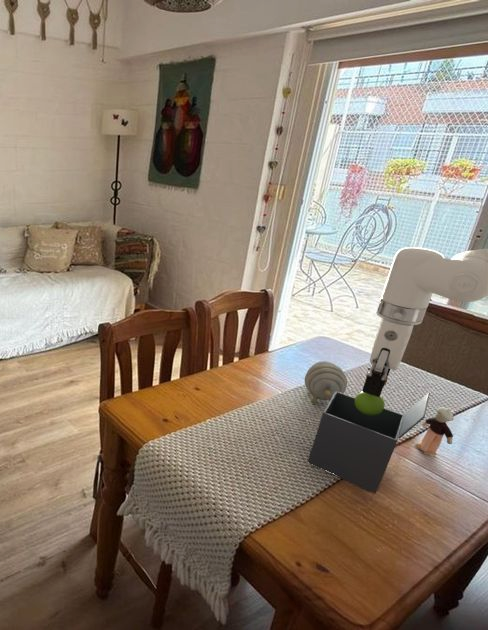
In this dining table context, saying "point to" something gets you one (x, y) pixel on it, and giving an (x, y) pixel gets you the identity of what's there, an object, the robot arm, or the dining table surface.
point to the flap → (414, 415)
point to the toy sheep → (325, 380)
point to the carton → (355, 442)
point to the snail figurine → (369, 402)
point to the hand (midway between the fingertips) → (373, 387)
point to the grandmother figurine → (436, 432)
